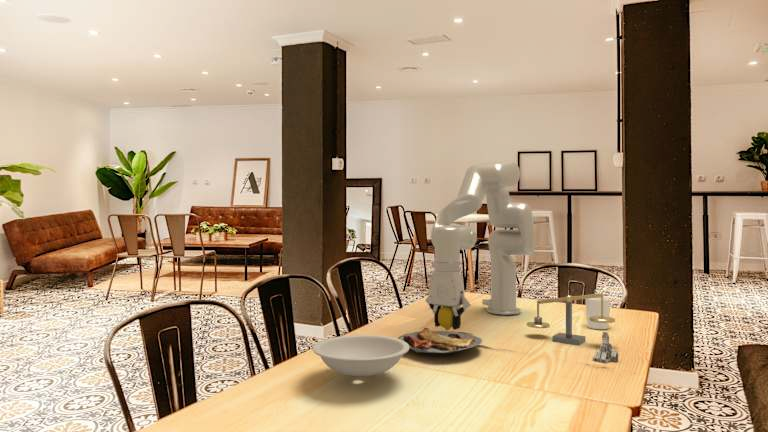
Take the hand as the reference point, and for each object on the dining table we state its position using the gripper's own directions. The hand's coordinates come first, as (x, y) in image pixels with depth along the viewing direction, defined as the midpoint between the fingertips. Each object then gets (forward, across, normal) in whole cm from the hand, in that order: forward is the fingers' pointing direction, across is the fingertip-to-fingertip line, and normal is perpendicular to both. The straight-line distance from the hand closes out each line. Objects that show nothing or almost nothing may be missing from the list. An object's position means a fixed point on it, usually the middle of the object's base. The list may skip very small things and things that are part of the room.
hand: (447, 326), depth 160 cm
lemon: (+1, 0, 0) cm, 1 cm away
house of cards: (+6, +45, +10) cm, 46 cm away
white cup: (+5, +29, +50) cm, 58 cm away
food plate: (+5, 0, -4) cm, 7 cm away
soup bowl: (+5, -2, -38) cm, 38 cm away
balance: (+5, +28, +25) cm, 38 cm away
